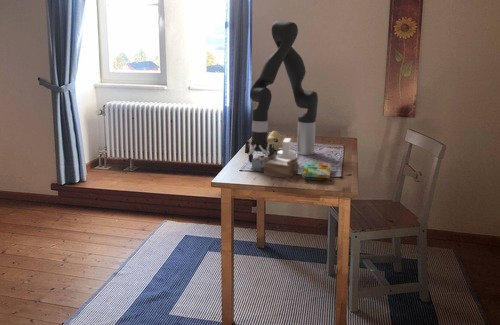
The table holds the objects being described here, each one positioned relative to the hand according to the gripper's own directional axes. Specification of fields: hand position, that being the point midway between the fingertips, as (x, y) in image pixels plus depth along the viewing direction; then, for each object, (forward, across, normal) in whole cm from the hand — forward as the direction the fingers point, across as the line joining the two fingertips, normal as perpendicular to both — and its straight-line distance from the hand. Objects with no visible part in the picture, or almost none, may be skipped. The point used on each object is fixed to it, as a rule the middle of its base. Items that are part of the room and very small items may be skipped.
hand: (259, 163), depth 228 cm
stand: (+2, -13, +4) cm, 14 cm away
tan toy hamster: (+2, +10, -36) cm, 37 cm away
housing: (+2, 0, 0) cm, 2 cm away
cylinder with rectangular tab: (+2, -8, -13) cm, 16 cm away
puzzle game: (+3, -28, -2) cm, 29 cm away
